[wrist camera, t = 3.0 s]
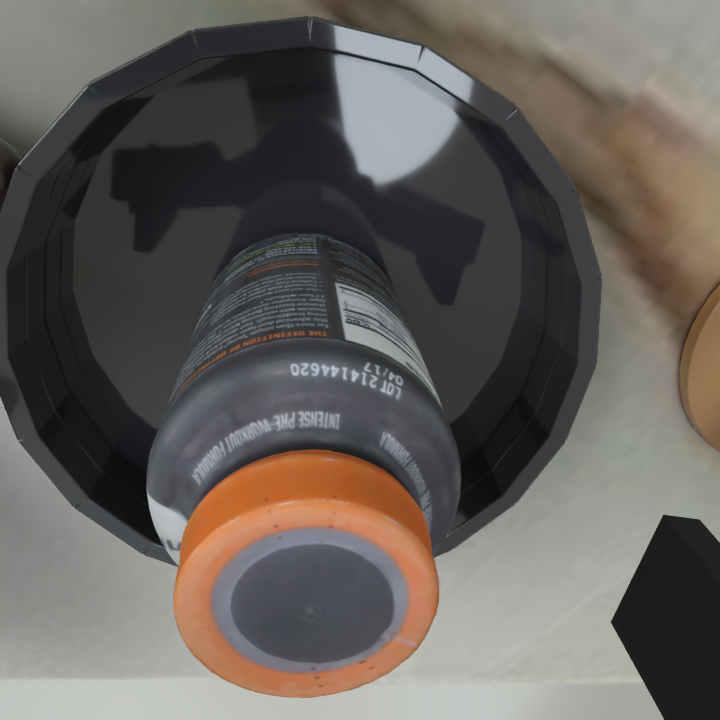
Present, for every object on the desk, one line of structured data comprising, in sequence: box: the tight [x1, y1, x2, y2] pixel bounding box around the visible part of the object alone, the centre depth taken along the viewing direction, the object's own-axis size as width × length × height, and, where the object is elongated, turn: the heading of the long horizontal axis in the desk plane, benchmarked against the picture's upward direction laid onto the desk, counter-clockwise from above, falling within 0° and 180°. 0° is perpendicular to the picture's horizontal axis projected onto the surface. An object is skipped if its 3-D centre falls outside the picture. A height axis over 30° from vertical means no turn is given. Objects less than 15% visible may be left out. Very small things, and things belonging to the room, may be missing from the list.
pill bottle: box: [146, 233, 461, 698], centre depth 14 cm, size 6×6×11 cm
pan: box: [0, 16, 602, 567], centre depth 19 cm, size 16×16×3 cm
